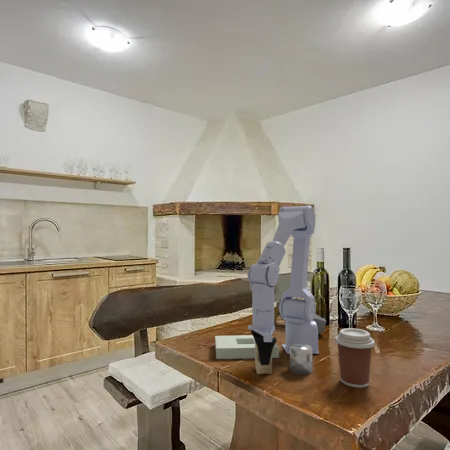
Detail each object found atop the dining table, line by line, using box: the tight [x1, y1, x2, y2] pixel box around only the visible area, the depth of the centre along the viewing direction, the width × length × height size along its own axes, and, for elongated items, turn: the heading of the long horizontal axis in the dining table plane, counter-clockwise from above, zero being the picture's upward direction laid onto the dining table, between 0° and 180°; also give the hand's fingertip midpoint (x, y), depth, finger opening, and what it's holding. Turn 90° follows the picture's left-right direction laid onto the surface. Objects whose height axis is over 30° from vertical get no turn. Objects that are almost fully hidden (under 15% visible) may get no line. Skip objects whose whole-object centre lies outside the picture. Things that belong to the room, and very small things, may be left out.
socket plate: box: [214, 334, 280, 360], centre depth 107 cm, size 18×12×3 cm, turn 93°
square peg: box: [254, 342, 273, 375], centre depth 92 cm, size 4×4×7 cm
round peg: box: [289, 344, 313, 375], centre depth 93 cm, size 6×6×6 cm
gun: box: [274, 298, 327, 335], centre depth 133 cm, size 3×25×15 cm, turn 36°
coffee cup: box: [334, 327, 376, 389], centre depth 86 cm, size 9×9×12 cm
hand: (263, 361), depth 92 cm, fingers closed on square peg, 4 cm apart
